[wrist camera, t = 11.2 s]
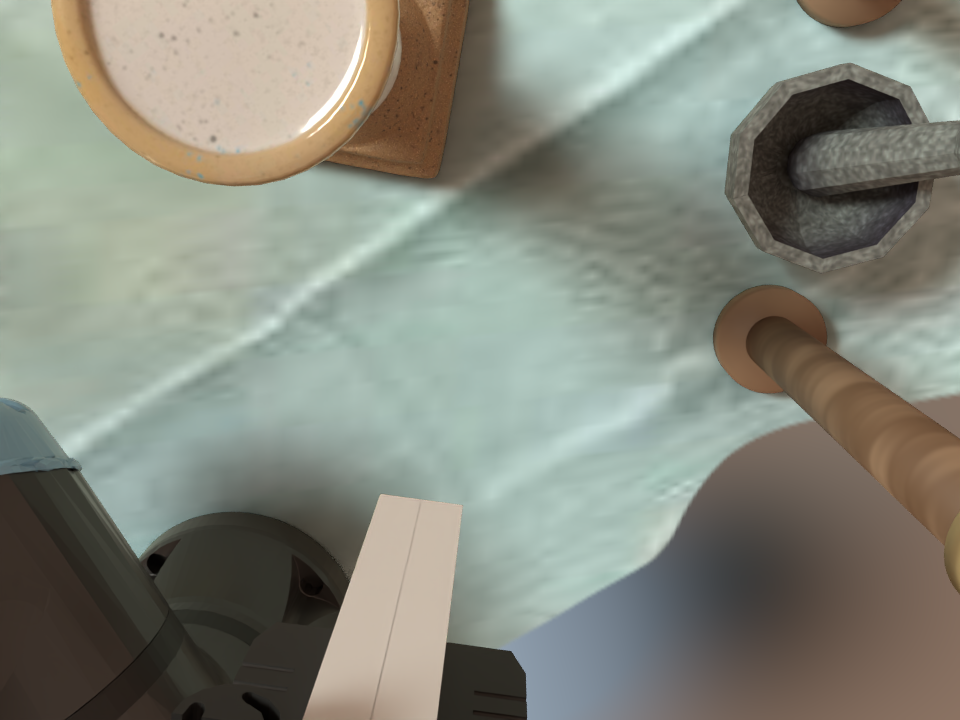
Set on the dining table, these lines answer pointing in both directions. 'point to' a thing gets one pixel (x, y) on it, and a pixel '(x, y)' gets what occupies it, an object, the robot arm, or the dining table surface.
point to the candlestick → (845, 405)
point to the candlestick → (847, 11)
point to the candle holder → (268, 82)
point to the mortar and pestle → (836, 166)
